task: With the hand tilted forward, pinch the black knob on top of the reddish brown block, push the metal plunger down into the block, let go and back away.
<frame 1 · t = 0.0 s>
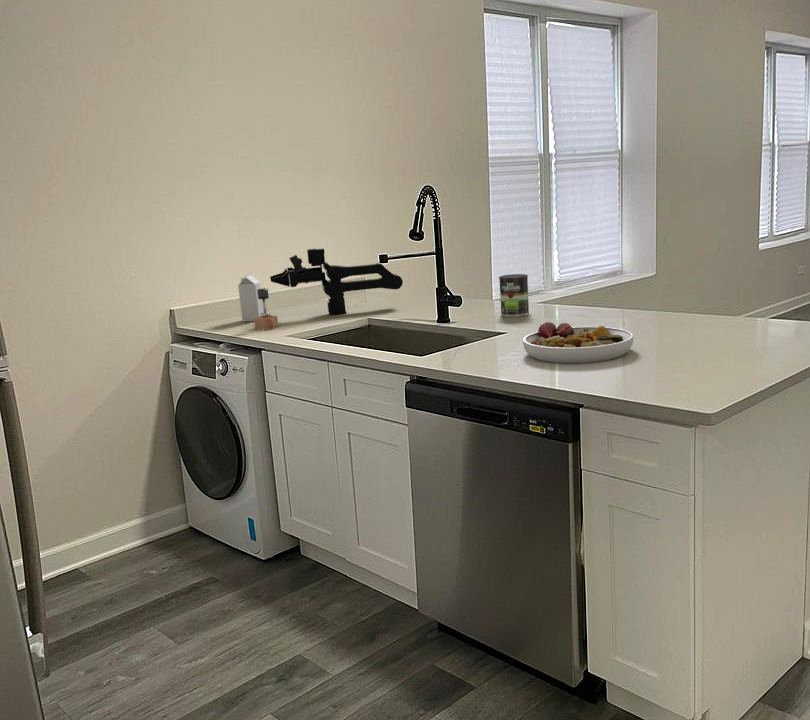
hand: (270, 279, 335), 17 cm above the table, tool horizontal, fingers open, 9 cm apart
bowl: (578, 354, 234), on the table
milk carton: (253, 320, 343), on the table
reddish brown block: (266, 327, 321), on the table
coffee can: (515, 315, 306), on the table
plunger: (263, 301, 319), point 10 cm above the table, slide at 0.0 cm
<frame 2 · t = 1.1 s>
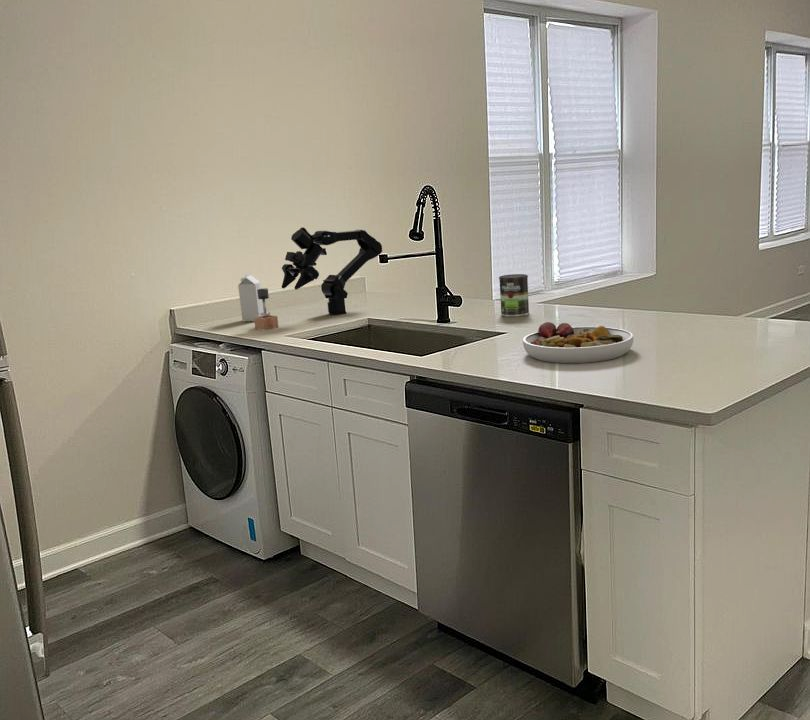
hand: (288, 288, 326), 13 cm above the table, tool tilted 45°, fingers open, 9 cm apart
nothing on the table moved.
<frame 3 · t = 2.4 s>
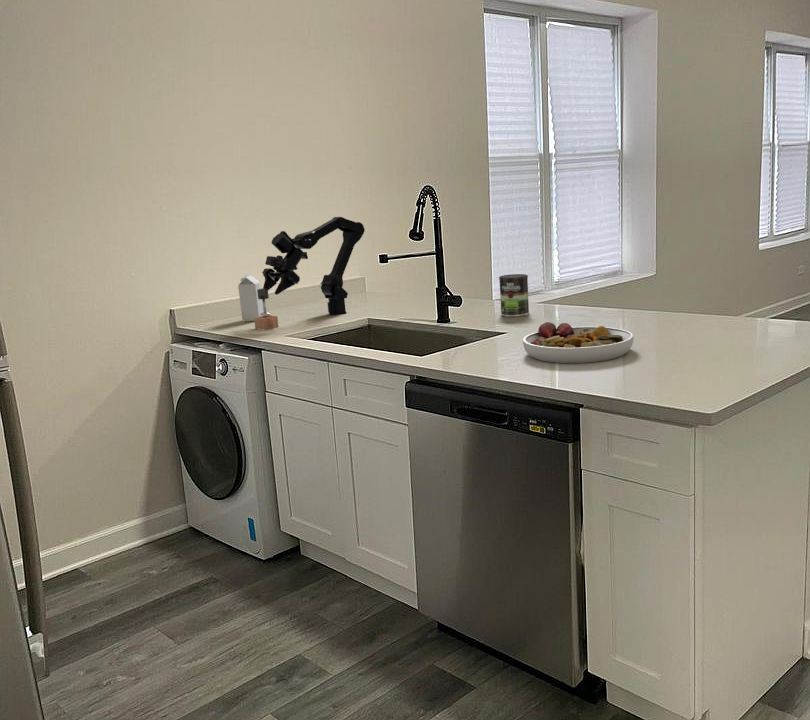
hand: (269, 293, 320), 13 cm above the table, tool tilted 45°, fingers open, 9 cm apart
nothing on the table moved.
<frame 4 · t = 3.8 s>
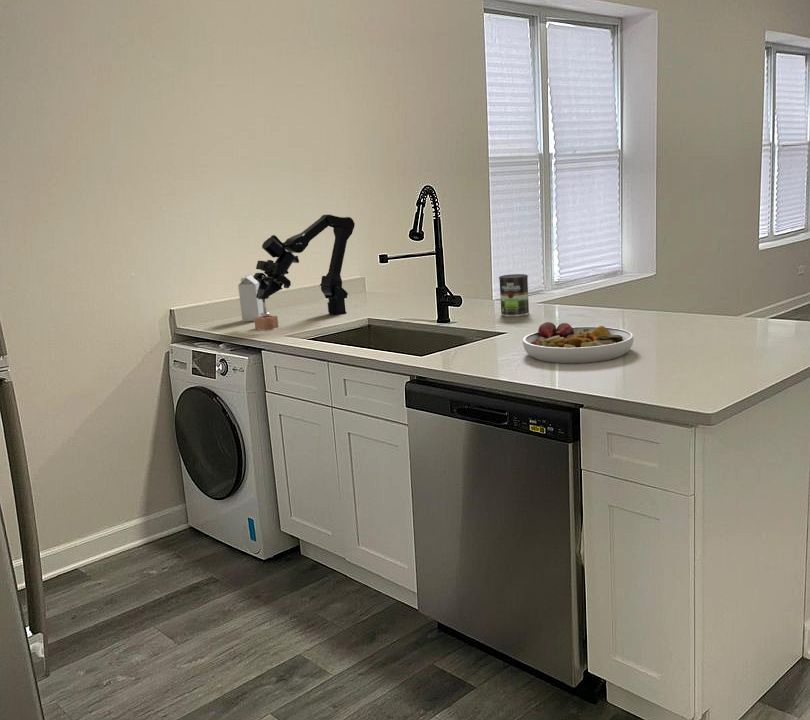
hand: (260, 298, 318), 12 cm above the table, tool tilted 45°, fingers closed on plunger, 4 cm apart
plunger: (263, 301, 319), point 10 cm above the table, slide at 0.0 cm, touching gripper
everything else where it was.
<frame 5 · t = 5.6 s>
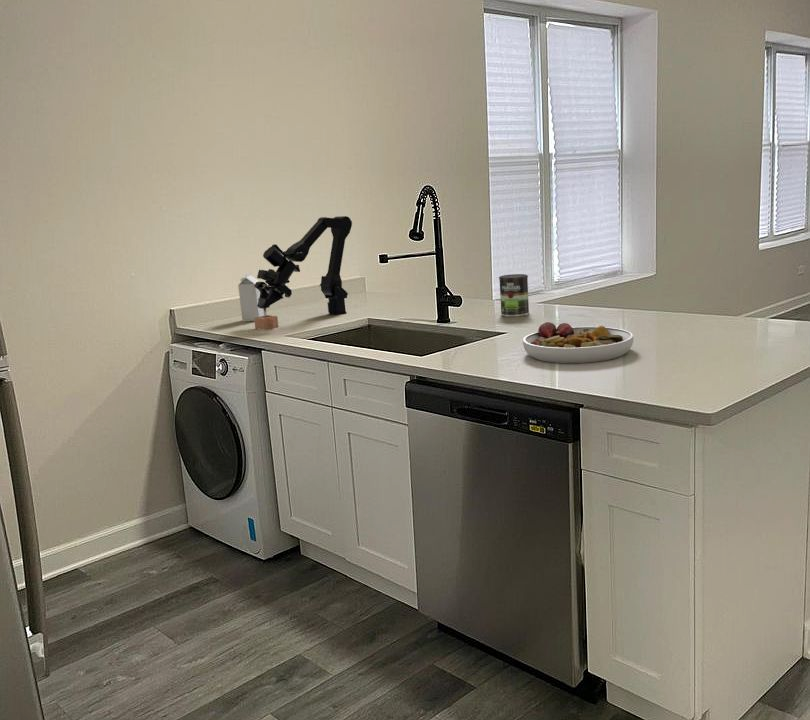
hand: (261, 307, 319), 8 cm above the table, tool tilted 45°, fingers closed on plunger, 4 cm apart
plunger: (264, 310, 320), point 6 cm above the table, slide at 3.5 cm, touching gripper
everything else where it was.
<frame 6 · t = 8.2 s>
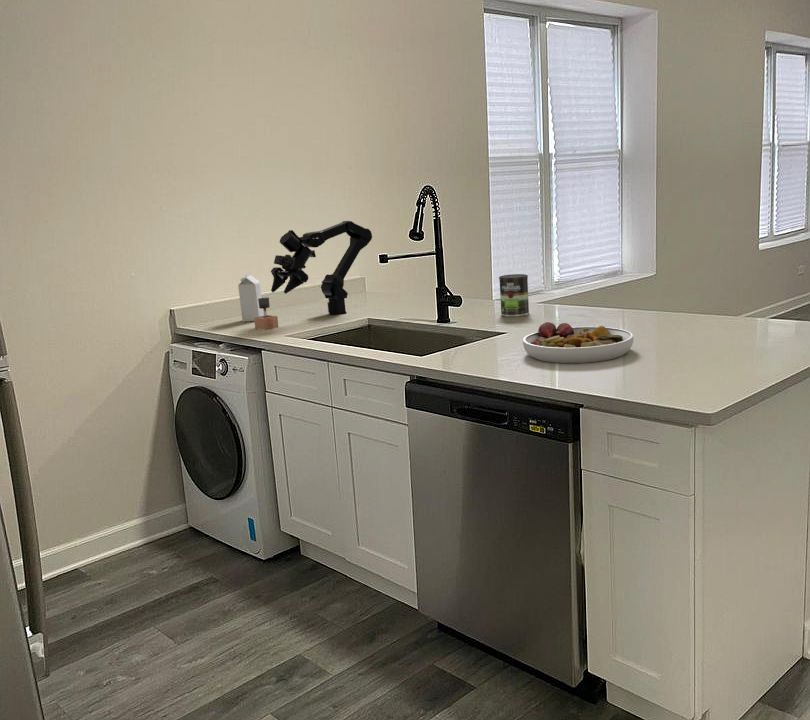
hand: (278, 292, 323), 13 cm above the table, tool tilted 45°, fingers open, 9 cm apart
plunger: (264, 311, 320), point 6 cm above the table, slide at 3.5 cm
everything else where it was.
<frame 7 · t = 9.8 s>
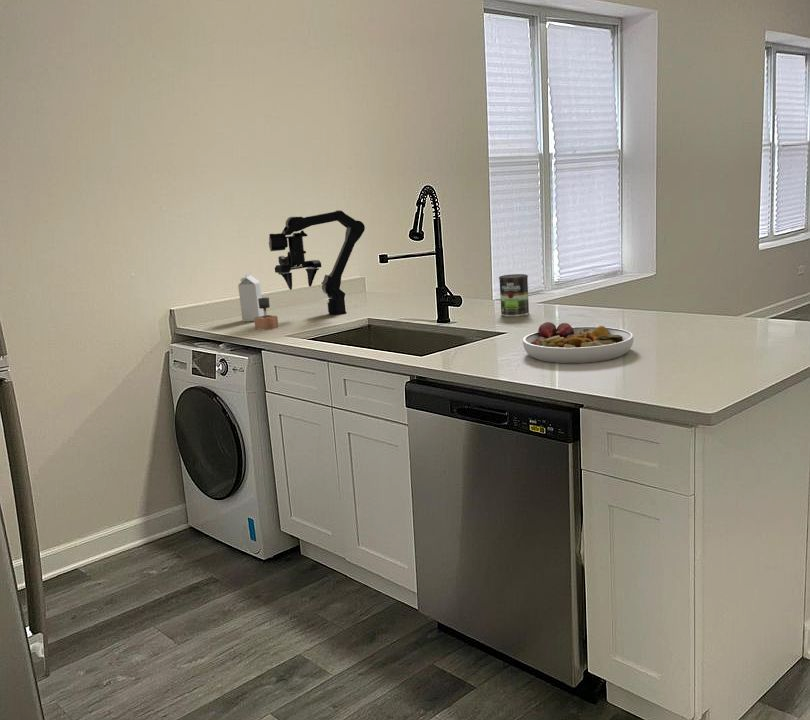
hand: (300, 288, 336), 12 cm above the table, tool pointing down, fingers open, 9 cm apart
nothing on the table moved.
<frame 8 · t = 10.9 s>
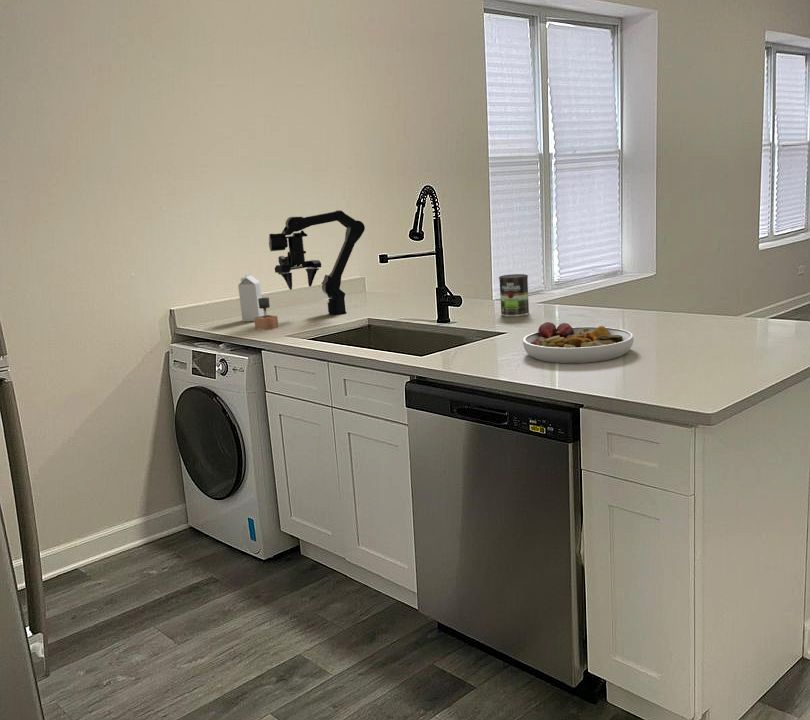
hand: (300, 288, 336), 12 cm above the table, tool pointing down, fingers open, 9 cm apart
nothing on the table moved.
at the end: plunger slide at 3.5 cm; the gripper is holding nothing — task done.
